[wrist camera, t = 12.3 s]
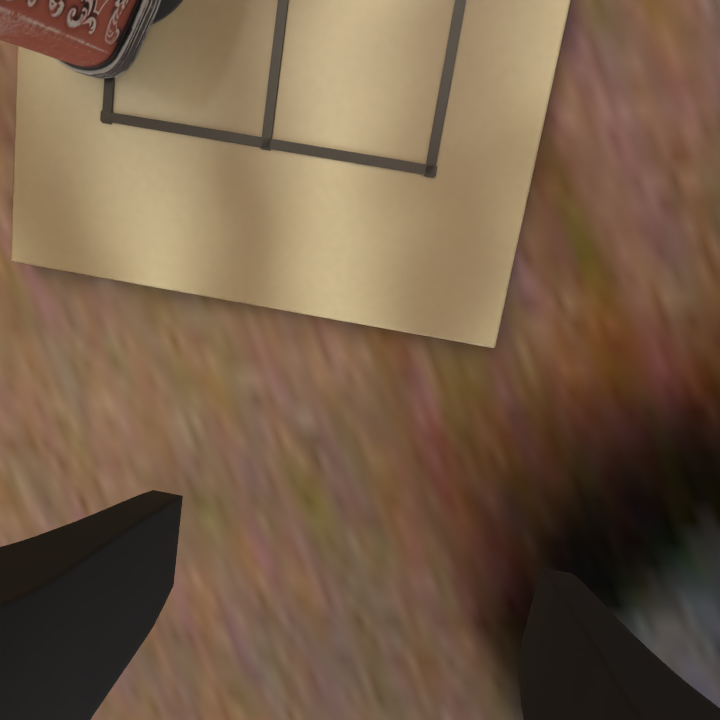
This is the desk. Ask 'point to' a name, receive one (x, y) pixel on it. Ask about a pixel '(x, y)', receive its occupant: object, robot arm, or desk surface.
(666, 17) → the desk surface
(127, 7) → the lighter
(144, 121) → the grid board
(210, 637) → the desk surface
